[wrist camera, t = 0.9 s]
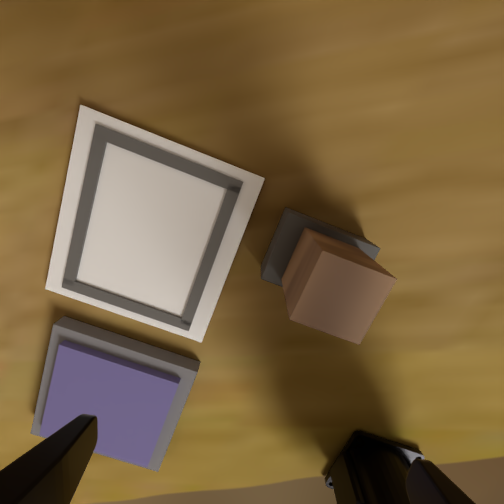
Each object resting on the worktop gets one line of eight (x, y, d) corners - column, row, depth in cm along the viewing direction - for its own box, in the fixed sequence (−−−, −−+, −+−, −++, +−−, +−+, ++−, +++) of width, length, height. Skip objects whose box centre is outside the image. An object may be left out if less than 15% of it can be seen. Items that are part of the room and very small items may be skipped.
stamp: (365, 238, 20) (426, 279, 13) (336, 294, 21) (377, 360, 14) (285, 206, 19) (301, 230, 12) (260, 265, 21) (261, 319, 13)
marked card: (264, 178, 19) (264, 178, 18) (202, 339, 22) (201, 344, 22) (84, 105, 18) (78, 103, 17) (49, 286, 21) (43, 290, 21)
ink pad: (200, 361, 23) (195, 377, 21) (162, 458, 26) (155, 479, 24) (64, 316, 22) (47, 328, 20) (41, 421, 25) (25, 440, 23)
